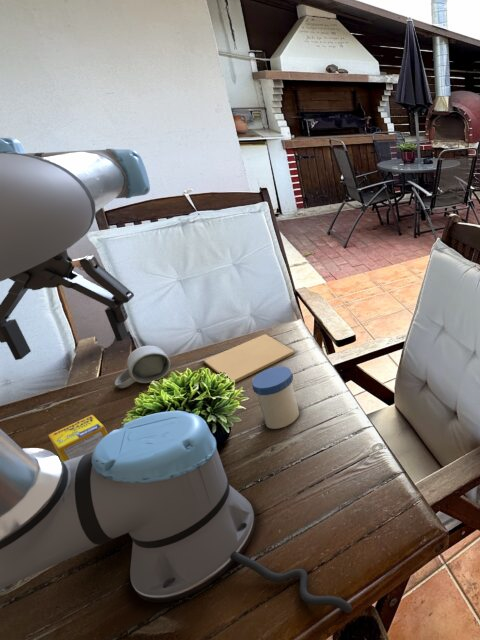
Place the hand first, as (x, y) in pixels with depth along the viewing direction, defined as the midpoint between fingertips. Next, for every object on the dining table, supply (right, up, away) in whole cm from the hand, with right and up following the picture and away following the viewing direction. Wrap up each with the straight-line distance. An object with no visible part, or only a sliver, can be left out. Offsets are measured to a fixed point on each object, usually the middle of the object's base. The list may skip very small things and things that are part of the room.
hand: (75, 346), depth 73 cm
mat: (+8, -11, +37) cm, 39 cm away
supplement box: (+2, -25, +2) cm, 25 cm away
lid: (+29, -9, +12) cm, 33 cm away
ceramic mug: (-13, -15, +29) cm, 35 cm away
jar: (+29, -19, +16) cm, 38 cm away
